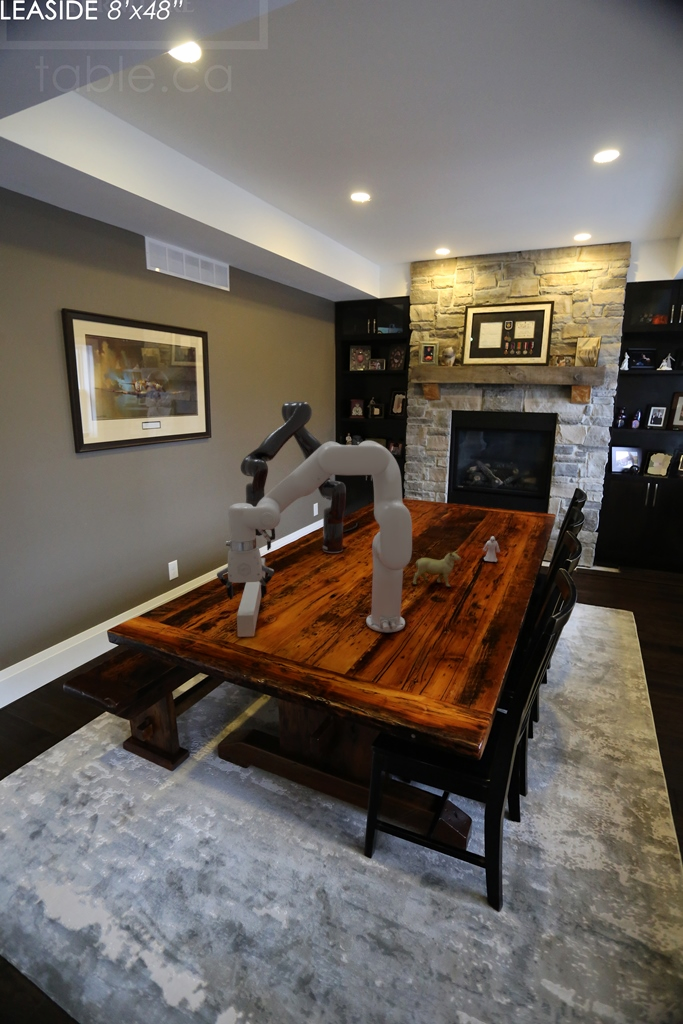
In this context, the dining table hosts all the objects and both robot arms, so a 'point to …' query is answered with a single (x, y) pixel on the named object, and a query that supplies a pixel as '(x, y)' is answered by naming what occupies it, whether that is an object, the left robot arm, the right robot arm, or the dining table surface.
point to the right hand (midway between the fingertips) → (247, 597)
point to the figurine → (491, 550)
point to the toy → (436, 567)
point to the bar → (249, 608)
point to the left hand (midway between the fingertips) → (257, 550)
